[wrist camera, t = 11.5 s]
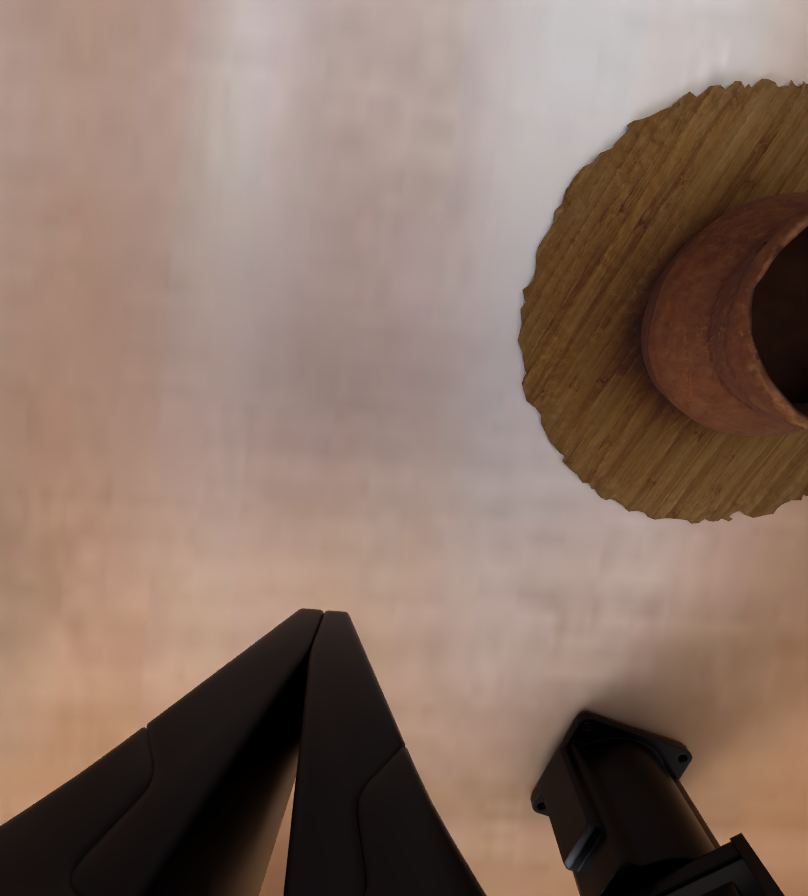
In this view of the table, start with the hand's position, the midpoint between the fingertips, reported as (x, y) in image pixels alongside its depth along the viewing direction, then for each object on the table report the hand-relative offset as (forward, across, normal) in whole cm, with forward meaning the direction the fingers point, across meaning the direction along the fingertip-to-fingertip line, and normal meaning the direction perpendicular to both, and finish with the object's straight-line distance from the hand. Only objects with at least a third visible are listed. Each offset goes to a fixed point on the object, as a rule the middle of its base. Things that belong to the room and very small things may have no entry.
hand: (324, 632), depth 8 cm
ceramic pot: (+13, -15, -7) cm, 21 cm away
